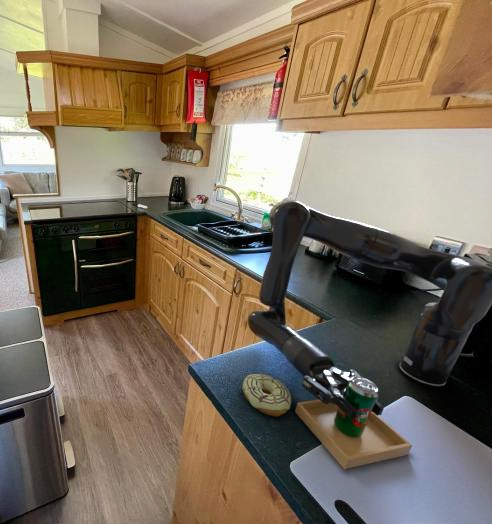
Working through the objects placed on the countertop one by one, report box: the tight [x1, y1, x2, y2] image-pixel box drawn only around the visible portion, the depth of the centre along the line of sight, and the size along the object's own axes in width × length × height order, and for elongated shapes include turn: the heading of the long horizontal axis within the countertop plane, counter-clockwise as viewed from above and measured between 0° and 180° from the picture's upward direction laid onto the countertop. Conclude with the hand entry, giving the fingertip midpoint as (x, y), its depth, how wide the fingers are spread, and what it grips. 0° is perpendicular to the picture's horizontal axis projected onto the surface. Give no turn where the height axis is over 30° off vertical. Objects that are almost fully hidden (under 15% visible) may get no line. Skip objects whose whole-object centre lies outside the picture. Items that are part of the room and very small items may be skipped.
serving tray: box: [294, 395, 413, 470], centre depth 61 cm, size 15×13×3 cm
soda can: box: [334, 376, 380, 437], centre depth 59 cm, size 5×5×12 cm
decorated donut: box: [241, 373, 292, 417], centre depth 68 cm, size 10×11×4 cm
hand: (369, 413), depth 56 cm, fingers closed on soda can, 5 cm apart
